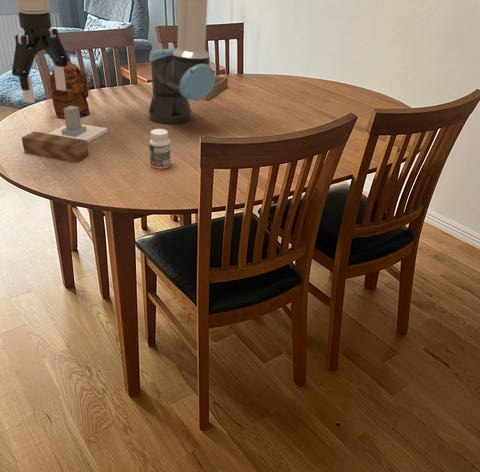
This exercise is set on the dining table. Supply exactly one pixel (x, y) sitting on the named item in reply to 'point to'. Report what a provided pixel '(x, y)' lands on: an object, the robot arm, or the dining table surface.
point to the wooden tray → (217, 87)
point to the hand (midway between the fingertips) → (46, 95)
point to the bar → (55, 146)
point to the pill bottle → (160, 149)
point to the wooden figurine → (70, 91)
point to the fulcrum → (77, 127)
